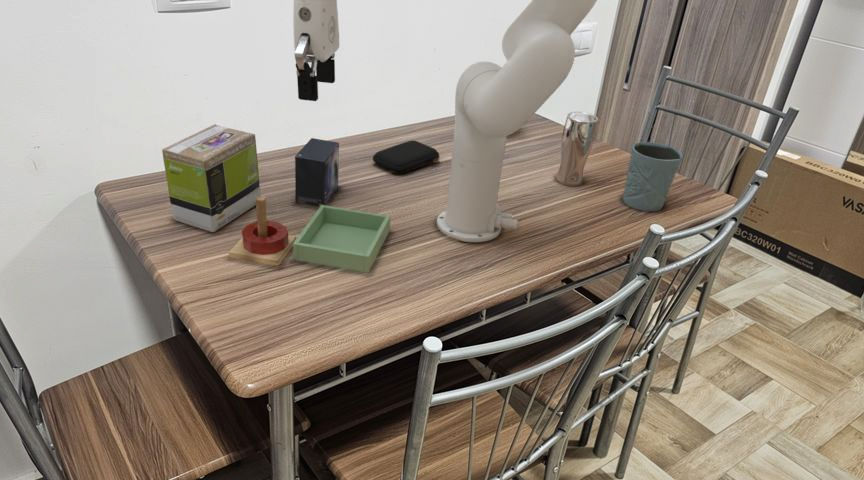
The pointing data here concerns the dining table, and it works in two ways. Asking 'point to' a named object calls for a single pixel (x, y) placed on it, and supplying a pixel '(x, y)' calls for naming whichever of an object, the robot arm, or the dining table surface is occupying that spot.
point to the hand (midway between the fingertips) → (317, 90)
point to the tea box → (212, 177)
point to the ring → (266, 245)
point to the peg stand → (271, 259)
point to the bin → (342, 238)
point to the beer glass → (576, 147)
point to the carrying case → (406, 157)
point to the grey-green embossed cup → (650, 175)
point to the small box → (316, 172)
